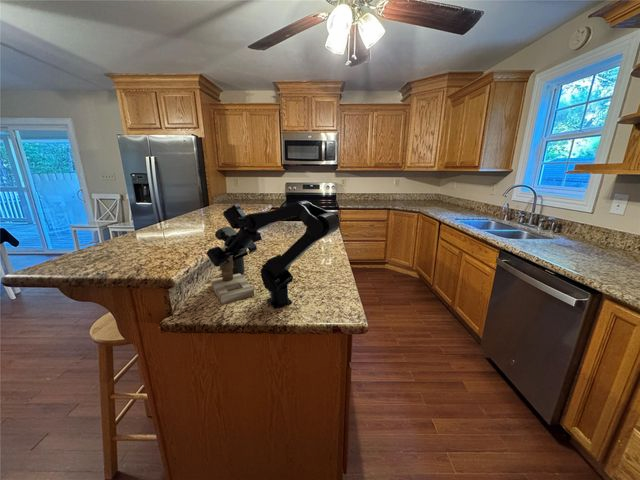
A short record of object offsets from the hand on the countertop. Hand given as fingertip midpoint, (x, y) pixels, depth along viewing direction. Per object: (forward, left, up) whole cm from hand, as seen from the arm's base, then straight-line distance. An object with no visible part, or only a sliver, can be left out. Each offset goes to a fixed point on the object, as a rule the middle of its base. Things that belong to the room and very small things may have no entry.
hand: (223, 262), depth 94 cm
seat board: (-6, -1, -9) cm, 11 cm away
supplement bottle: (+9, -7, -9) cm, 14 cm away
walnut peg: (-1, -1, -6) cm, 7 cm away
